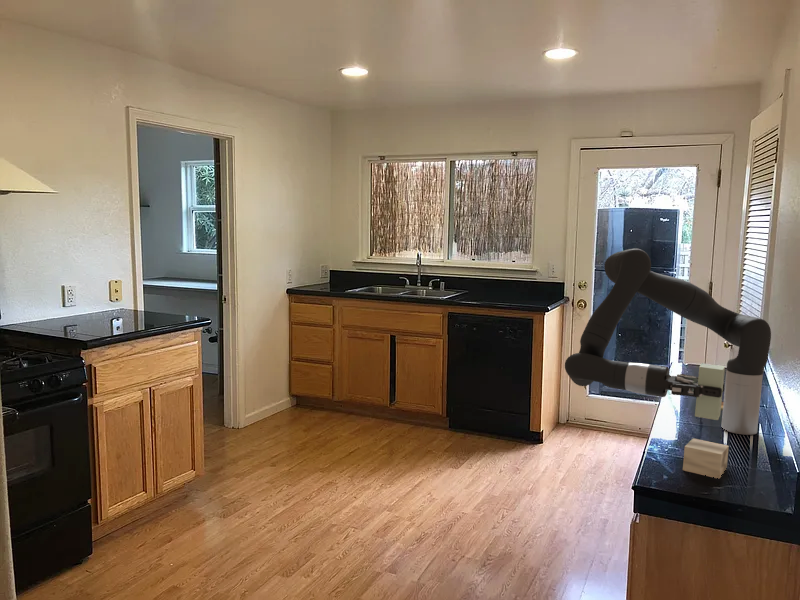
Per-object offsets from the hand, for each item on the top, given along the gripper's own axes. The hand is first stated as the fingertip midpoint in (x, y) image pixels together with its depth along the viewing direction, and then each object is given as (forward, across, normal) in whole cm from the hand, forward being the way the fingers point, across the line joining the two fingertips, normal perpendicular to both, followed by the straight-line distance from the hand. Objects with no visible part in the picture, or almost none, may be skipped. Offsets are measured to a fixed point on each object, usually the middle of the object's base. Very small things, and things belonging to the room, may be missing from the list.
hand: (722, 390), depth 153 cm
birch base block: (-2, 0, +20) cm, 20 cm away
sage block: (-3, 0, +7) cm, 7 cm away
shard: (-6, +65, +20) cm, 68 cm away
